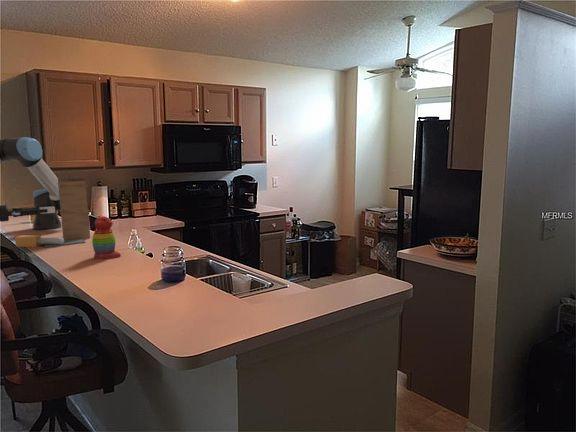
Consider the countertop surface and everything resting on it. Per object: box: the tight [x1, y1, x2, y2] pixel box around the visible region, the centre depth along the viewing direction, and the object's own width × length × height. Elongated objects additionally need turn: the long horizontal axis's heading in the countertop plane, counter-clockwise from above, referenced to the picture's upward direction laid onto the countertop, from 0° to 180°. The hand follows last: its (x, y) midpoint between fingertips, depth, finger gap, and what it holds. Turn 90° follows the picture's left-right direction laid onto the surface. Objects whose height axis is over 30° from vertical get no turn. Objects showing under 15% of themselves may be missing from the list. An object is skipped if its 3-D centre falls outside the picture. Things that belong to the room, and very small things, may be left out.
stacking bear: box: [92, 215, 122, 260], centre depth 205 cm, size 11×10×18 cm
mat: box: [43, 238, 86, 248], centre depth 236 cm, size 10×18×1 cm, turn 121°
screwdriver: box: [14, 234, 64, 248], centre depth 231 cm, size 22×5×5 cm, turn 87°
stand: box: [58, 177, 91, 240], centre depth 245 cm, size 8×12×31 cm, turn 121°
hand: (54, 209), depth 231 cm, fingers open, 2 cm apart
